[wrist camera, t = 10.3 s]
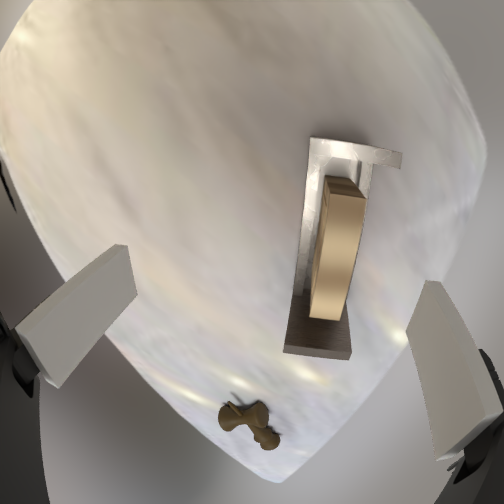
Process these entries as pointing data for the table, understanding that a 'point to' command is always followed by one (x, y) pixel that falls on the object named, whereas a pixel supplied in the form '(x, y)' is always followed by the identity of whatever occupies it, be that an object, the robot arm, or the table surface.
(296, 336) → the grey u-shaped piece
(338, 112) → the table surface
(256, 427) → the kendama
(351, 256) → the door panel
